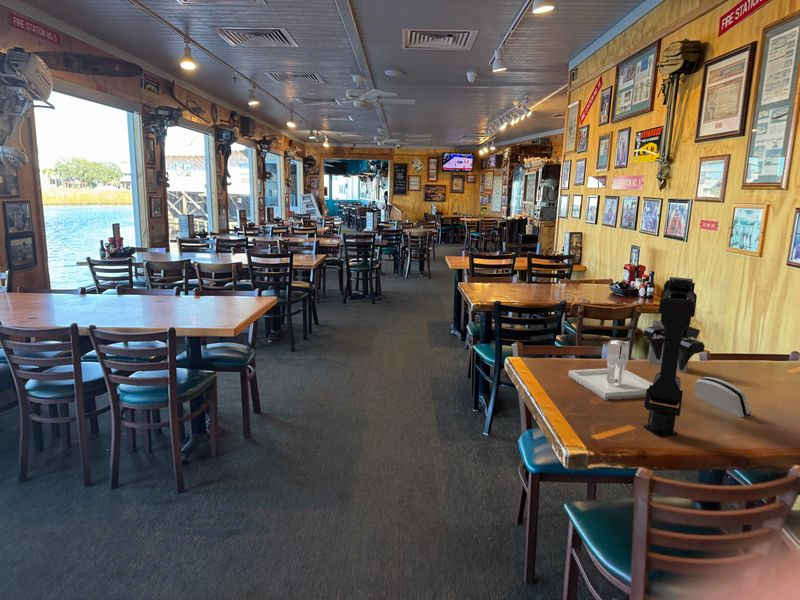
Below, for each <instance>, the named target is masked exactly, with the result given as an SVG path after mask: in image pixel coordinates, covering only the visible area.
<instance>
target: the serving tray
mask: <svg viewBox="0 0 800 600" xmlns="http://www.w3.org/2000/svg"><path fill="white" fill-rule="evenodd" d="M607 373H608V367H606V368H593V369H592V368H590V369H588V368H587V369H571V370H568V374H567V375H568V376H567V377H568V378H569V377H570V378H572V379H573V381H574V380H575V381H576V382H575V381H574V382H575V383H577V382H578V383H579V384H578V383H577V384H578V385H580V384H581V385H580V386H582V385H583V386H584V388H585V387H586V388H587V389H586V388H585V389H586V390H588V389H589V390H591V391H592V392H591V391H590V392H591V393H593V392H594V393H595V394H594V393H593V394H594V395H596V394H597V395H598V396H597V395H596V396H597V397H599V396H600V397H601V398H600V397H599V398H600V399H602V398H603V399H602V400H603V401H609V400H608V399H614V400H624V399H625V398H627V399H641V398H645V397H646V391H647V389H648V388H649V387H650V385H653V382H651V381H649V380H647V379H645V378H643V377H641V376H639V375H637V374H634V373H633V372H631V371H628V370H627V369H625V372H624V385H623V386H620V387H617V386H611V385H608V384H606V383H605V380H606V377H607ZM570 378H569V379H570ZM572 379H571V380H572ZM583 386H582V387H583ZM589 390H588V391H589ZM623 398H624V399H623Z"/></svg>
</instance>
